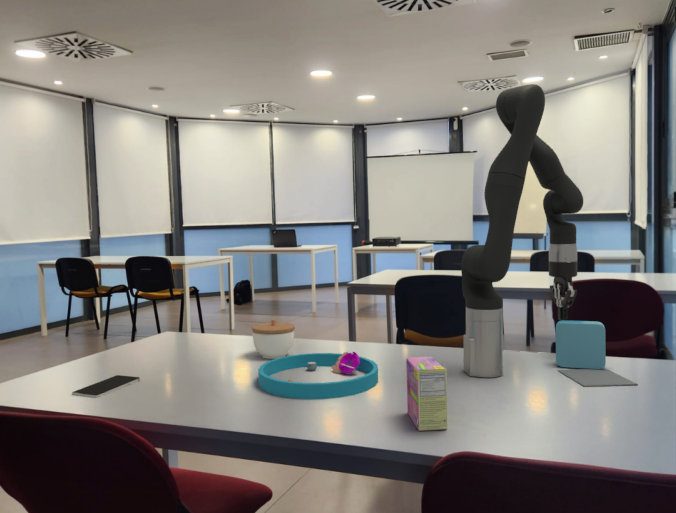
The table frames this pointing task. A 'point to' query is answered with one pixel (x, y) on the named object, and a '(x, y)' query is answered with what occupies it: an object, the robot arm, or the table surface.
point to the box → (427, 393)
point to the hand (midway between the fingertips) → (562, 320)
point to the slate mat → (596, 377)
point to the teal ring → (319, 390)
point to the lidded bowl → (273, 339)
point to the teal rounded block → (580, 344)
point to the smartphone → (106, 386)
